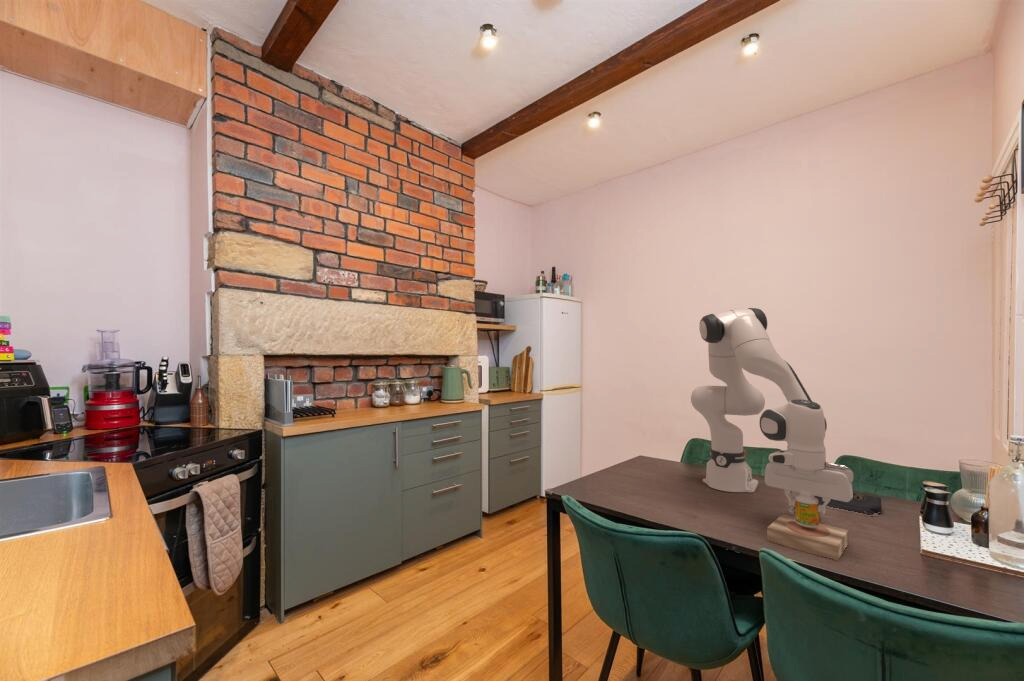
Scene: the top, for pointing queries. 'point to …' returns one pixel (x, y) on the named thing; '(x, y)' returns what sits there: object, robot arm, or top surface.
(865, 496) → the dark slate chunk
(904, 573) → the top surface
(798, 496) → the supplement bottle
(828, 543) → the birch base
